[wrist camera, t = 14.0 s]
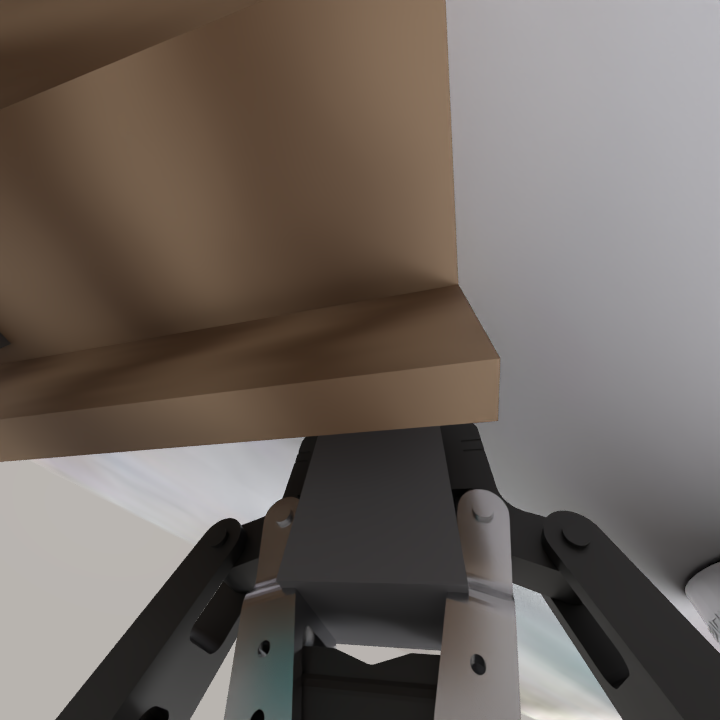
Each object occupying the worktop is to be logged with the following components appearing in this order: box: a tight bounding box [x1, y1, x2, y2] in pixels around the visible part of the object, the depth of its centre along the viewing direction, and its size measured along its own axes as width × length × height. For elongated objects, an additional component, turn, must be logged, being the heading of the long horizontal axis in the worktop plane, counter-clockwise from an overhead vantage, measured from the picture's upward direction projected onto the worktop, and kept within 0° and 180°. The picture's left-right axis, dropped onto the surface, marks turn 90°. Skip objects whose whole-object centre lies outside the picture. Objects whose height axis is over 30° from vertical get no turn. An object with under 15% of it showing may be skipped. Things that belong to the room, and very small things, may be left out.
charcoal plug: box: [276, 426, 469, 651], centre depth 10 cm, size 4×4×7 cm
